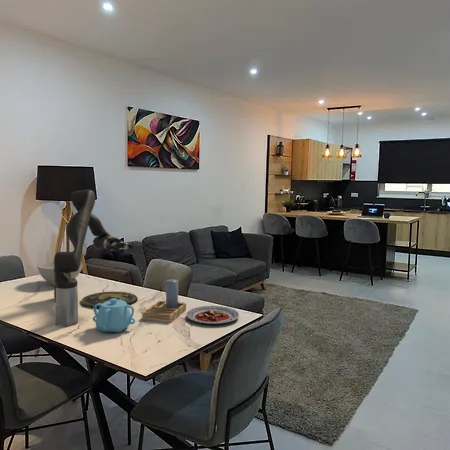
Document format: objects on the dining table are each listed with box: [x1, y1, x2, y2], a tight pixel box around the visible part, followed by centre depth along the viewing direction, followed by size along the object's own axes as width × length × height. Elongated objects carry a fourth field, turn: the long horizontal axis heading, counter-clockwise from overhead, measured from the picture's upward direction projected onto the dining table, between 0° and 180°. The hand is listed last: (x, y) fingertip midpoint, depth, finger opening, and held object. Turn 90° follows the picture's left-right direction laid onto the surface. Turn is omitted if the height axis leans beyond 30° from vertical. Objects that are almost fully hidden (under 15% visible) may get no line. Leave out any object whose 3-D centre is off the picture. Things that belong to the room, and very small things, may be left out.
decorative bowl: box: [36, 260, 84, 286], centre depth 260 cm, size 27×27×12 cm
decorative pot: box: [92, 298, 136, 333], centre depth 182 cm, size 16×16×14 cm
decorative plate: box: [80, 291, 138, 310], centre depth 225 cm, size 30×2×30 cm
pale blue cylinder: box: [165, 279, 179, 309], centre depth 207 cm, size 6×6×15 cm
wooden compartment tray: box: [141, 300, 187, 324], centre depth 203 cm, size 20×15×4 cm
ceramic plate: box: [186, 305, 240, 325], centre depth 200 cm, size 26×26×3 cm
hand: (124, 247), depth 210 cm, fingers open, 8 cm apart
